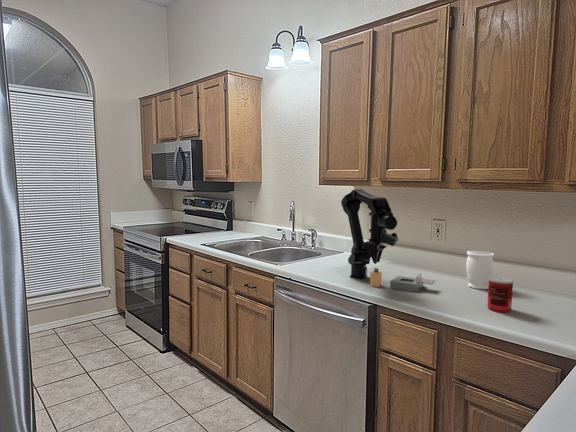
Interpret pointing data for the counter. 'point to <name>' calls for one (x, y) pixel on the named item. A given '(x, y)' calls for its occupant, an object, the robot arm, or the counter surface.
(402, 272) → the counter surface
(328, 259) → the counter surface
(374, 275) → the plug
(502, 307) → the canned food
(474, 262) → the jar
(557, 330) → the counter surface
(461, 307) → the counter surface
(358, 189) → the robot arm
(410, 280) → the socket
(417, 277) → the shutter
